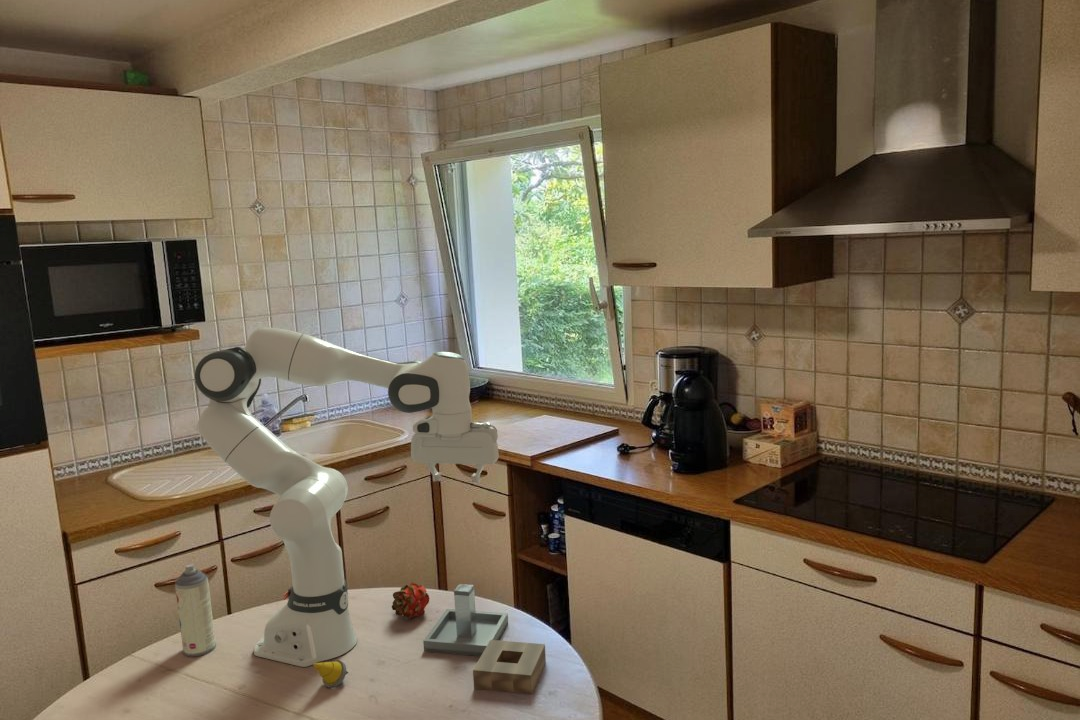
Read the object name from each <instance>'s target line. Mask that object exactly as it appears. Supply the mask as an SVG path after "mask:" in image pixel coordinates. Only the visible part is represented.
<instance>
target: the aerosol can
mask: <svg viewBox="0 0 1080 720" xmlns="http://www.w3.org/2000/svg"><path fill="white" fill-rule="evenodd" d="M184 568H185V570H184V571H183V572H182V573H181V574H180V576H179V577H178V578H176V580H175V581H174V582H175V584H174V587H175V597H176V604H177V613H178V619H179V628H180V635H181V636H180V637H181V644H182V645H181V646H182V653H183V656H185V657H187V658H195V657H196V658H197V657H201V656H205V655H207V654H209V653H211V652H213V651H214V650H215V649H216V647H217V644H216V637H215V635H216V634H215V626H214V617H213V611H212V610H213V609H212V600H211V593H210V592H211V591H210V585H209V578H208V575H207V574H206V573H205V572H203V571H201V570H198V569H197V568H195V565H194V563H190V564H186V565H185V567H184Z"/></svg>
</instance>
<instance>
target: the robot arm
mask: <svg viewBox="0 0 1080 720" xmlns="http://www.w3.org/2000/svg"><path fill="white" fill-rule="evenodd" d="M469 373H470V372H469V367H468V364H467V361H466V359H465V358H464V357H463V356H462V355H461V354H459V353H456V352H451V351H436V352H433V353H432V354H431V355H430V356H428V357H427V358H426V359H424V360H423V361H419V360H411V361H404V362H401V361H400V362H395V361H390V360H385V359H382V358H378V357H373V356H369V355H366V354H361V353H359V352H354V351H352V350H349V349H346V348H345V347H341V346H339V345H336V344H334V343H331V342H329V341H326V340H325V339H321V338H318V337H315V336H313V335H310V334H307V333H303V332H299V331H295V330H294V331H293V330H290V329H287V328H286V329H285V328H279V327H272V326H271V327H269V326H263V327H260V328H257V329H255V330H254V331H253V332H252V333H251V334H250V335H249V337H248V339H247V341H246V344H245V346H244V347H243V348H242V347H241V346H235V347H230V348H225V349H222V350H221V349H220V350H217V351H213V352H211V353H209V354H207V355H205V356H204V357H202V358H201V359H200V360H199V362H198V363H197V365H196V367H195V371H194V382H195V384H196V386H197V389H198V390H199V391H200V393H201V394H202V395H204V396H205V397H206V398H208V399H209V401H208V402H209V403H208V405H207V407H205V409H203V411H202V412H201V413H200V416H199V418H198V420H197V430H198V433H199V434H200V436H201V437H202V438H203V440H204V441H205V442H206V444H208V446H209V447H210V448H211V450H213V452H214V453H215V454H216V455H217V456H218V457H219V458H221V460H222V461H223V462H225V463H226V464H227V465H228V466H229V467H230V468H231V469H233V470H234V472H235V473H237V474H238V475H239V476H240V477H241V478H242V479H244V480H245V481H246V482H247V483H248V484H249V485H250V486H253V487H254V488H258V489H264V490H267V491H269V492H272V493H273V494H276V495H278V498H277V500H276V501H275V504H274V505H273V506H272V509H271V511H270V513H269V524H270V527H271V530H272V531H273V532H274V534H275V535H276V536H277V537H278V538H280V539H281V540H282V542H283V544H284V545H285V548H286V551H287V554H288V557H289V563H290V570H291V572H290V573H291V580H292V585H291V587H289V588H288V589H287V591H286V592H285V593H284V594H283V595H282V597H283V599H282V600H283V601H285V600H286V599H287V598H288V600H287V602H286V603H285V604H284V605H283V606H281V608H280V609H278V610H277V611H276V612H274V614H273V615H272V616H271V617H270V618H269V619H268V621H267V622H266V624H265V627H264V632H263V636H262V637H261V638H260V639H259V640H258V641H257V642H256V643H255V646H254V648H253V655H254V656H256V657H259V658H263V659H268V660H271V661H272V660H273V661H276V662H280V663H285V664H288V665H289V664H290V665H293V666H297V667H302V668H306V667H310V666H313V664H314V663H321V662H324V661H329V660H332V659H334V658H338V657H340V656H342V655H344V654H346V653H348V652H349V651H350V650H352V649H353V648H354V647H355V645H356V644H357V642H358V637H357V634H356V631H355V630H354V626H353V624H352V620H351V616H350V613H349V612H350V611H349V593H348V584H347V581H346V579H345V573H344V562H343V552H342V551H343V550H342V548H341V546H340V545H339V544H338V543H336V541H335V538H334V536H333V532H332V528H331V523H332V518H333V517H334V516H335V515H336V514H337V513H338V512H339V511H340V510H341V508H342V507H343V506H344V503H345V500H346V498H347V496H348V491H349V490H348V489H349V486H348V482H347V479H346V478H345V476H344V475H343V474H342V473H341V472H340V471H339V470H337V469H335V468H332V467H326V466H323V465H320V464H318V463H316V462H315V461H313V460H311V459H309V458H307V457H305V456H304V455H302V454H301V453H299V452H298V451H295V450H294V449H292V448H291V447H290V446H288V445H287V444H285V442H283V441H282V440H281V439H280V438H279V437H278V436H277V435H275V434H274V433H273V432H272V431H271V430H270V429H269V428H267V427H266V426H265V425H264V424H263V423H262V422H261V421H259V419H257V418H256V417H255V416H254V415H253V414H252V412H250V410H249V408H250V407H251V405H252V403H253V400H254V399H255V397H256V395H257V394H258V392H259V390H260V386H261V385H262V379H263V378H267V377H268V378H269V377H270V378H277V379H280V380H284V381H286V382H292V383H295V384H298V385H302V386H310V387H324V386H327V385H331V384H334V383H339V382H345V381H347V382H348V381H354V382H361V383H363V384H369V385H372V386H376V387H382V388H385V389H388V390H387V395H388V399H389V402H390V404H391V405H392V406H393V407H394V408H395V409H396V410H398V411H399V412H401V413H402V412H403V413H406V414H407V413H408V414H411V413H413V414H414V413H416V412H417V413H418V412H422V411H425V410H429V409H431V411H432V412H431V413H432V415H430V416H425V417H423V418H422V419H420V420H418V421H416V422H415V423H414V424H413V425H412V431H413V433H414V434H413V435H412V437H411V441H410V454H411V455H410V456H411V460H413V462H414V463H418V464H419V463H420V464H426V467H427V469H428V471H429V472H430V473H431V475H432V481H433V482H441V480H442V472H441V471H438V470H437V467H436V465H437V464H451V465H452V464H455V465H460V464H461V465H475V469H476V472H473V474H471V483H474V484H477V483H478V484H479V483H480V482H481V473H482V471H483V469H484V468H485V465H494V464H495V463H496V462H497V461H498V460H499V457H500V455H499V447H498V441H497V440H498V430H497V428H496V427H495V426H494V425H493V424H491V423H490V422H485V423H481V422H473V414H472V413H473V412H472V405H471V402H470V393H471V382H470V374H469Z"/></svg>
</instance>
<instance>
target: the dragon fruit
mask: <svg viewBox="0 0 1080 720" xmlns="http://www.w3.org/2000/svg"><path fill="white" fill-rule="evenodd" d="M392 597H393V601H392V605H391V609H392V611H395V612H394V613H395V615H396V616H401V617H402V616H403V618H405V619H406V620H412V619H413V618H414V616H417V617H420V616H424V615H425V608H426V607H427V606H428V605H429V603H430V595H429V594H428V592H427V590H426V587H425V586H424V585H423V584H422V583H420V584H419V583H417V582H416V581H415V582H414V581H412V582H410V584H409V585H408V584H405V585H403V586H402V587H400V590H399V591H395V592H393V593H392Z"/></svg>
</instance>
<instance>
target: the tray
mask: <svg viewBox="0 0 1080 720" xmlns="http://www.w3.org/2000/svg"><path fill="white" fill-rule="evenodd" d="M508 615H509V614H508V613H507V612H497V611H481V610H476V626H477V631H476V632H475V634H474V635H473V637H472V638H466V637H457V629H456V614H455V608H454V609H453V608H452V609H451V608H446V609H445V611H444V613H443V614H442V615H441V616H440V617H439V619H438V620H437V622H436V623H435V624H434V626H433V627H432V628H431V630H430V631H429V632H428V633H427V635H426V636H425V638H424V639H423V641H422V643H423V652H427V653H438V654H439V653H441V654H451V655H462V656H473V657H474V656H475V657H481V655H482V654H483V652H484V650H485V648H486V647H487V645H488V643H489V642H490V640H498V641H500V639H501V637H502V636H503V633H504V632H505V630H506V628H507V626H508V624H509V616H508Z"/></svg>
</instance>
